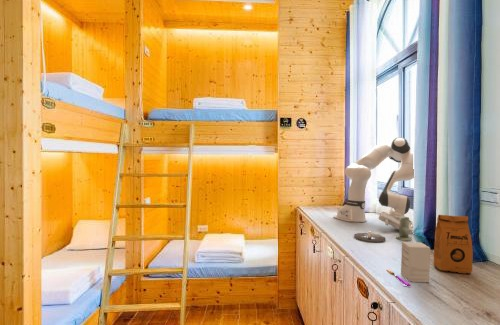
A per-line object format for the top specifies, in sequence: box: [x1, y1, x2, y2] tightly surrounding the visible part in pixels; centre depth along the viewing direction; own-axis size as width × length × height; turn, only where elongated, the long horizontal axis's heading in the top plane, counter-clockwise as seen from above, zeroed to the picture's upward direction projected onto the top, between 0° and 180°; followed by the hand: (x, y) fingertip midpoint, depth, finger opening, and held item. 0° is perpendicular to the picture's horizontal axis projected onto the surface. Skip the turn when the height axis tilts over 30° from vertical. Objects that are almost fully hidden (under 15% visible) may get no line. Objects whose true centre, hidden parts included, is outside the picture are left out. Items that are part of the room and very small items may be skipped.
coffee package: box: [433, 214, 474, 274], centre depth 127 cm, size 10×12×22 cm
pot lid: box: [353, 230, 387, 244], centre depth 174 cm, size 16×16×5 cm
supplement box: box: [400, 241, 431, 283], centre depth 117 cm, size 7×7×13 cm
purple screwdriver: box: [386, 269, 412, 287], centre depth 117 cm, size 3×1×16 cm
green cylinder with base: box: [395, 216, 413, 242], centre depth 175 cm, size 8×8×12 cm
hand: (395, 228), depth 188 cm, fingers open, 8 cm apart
